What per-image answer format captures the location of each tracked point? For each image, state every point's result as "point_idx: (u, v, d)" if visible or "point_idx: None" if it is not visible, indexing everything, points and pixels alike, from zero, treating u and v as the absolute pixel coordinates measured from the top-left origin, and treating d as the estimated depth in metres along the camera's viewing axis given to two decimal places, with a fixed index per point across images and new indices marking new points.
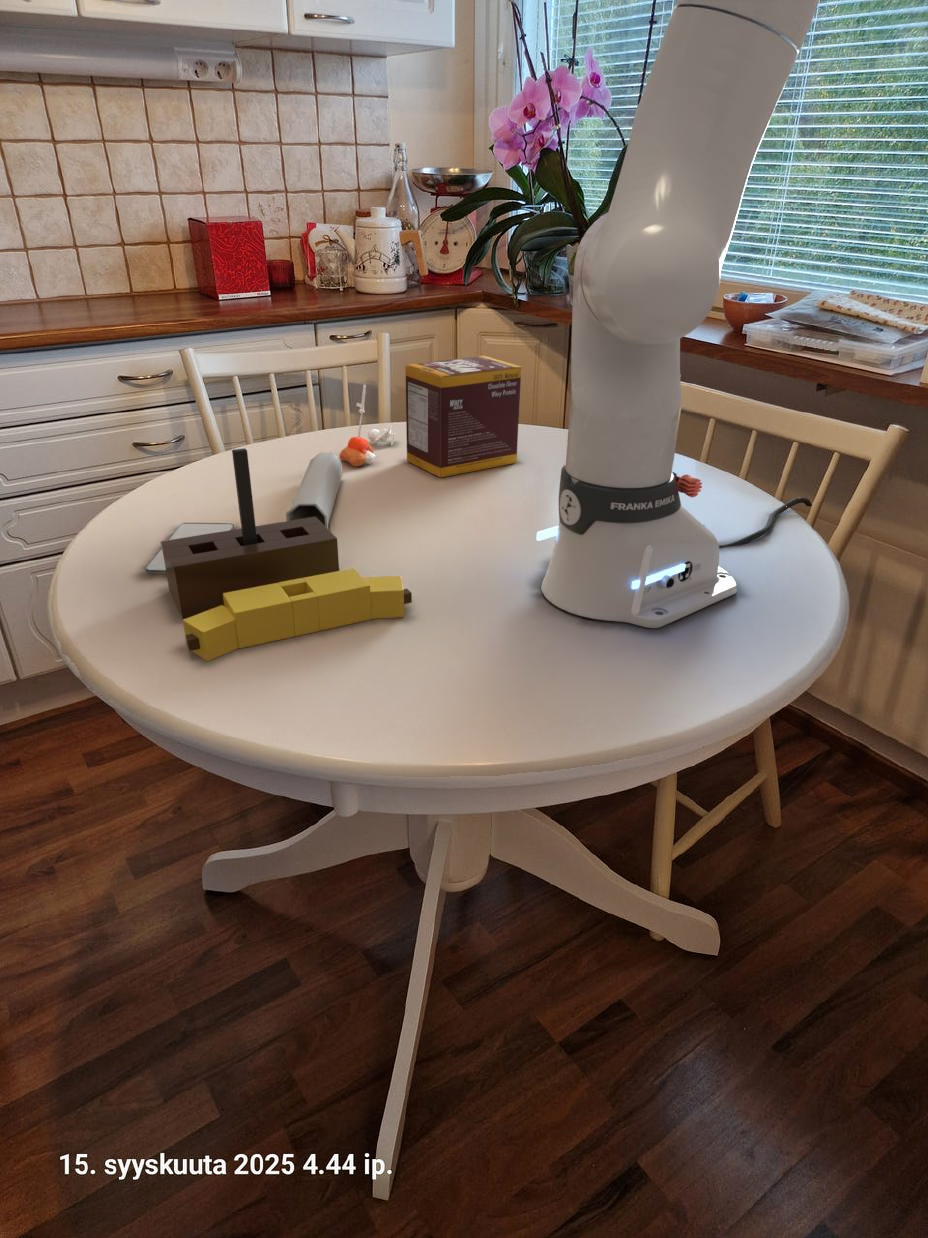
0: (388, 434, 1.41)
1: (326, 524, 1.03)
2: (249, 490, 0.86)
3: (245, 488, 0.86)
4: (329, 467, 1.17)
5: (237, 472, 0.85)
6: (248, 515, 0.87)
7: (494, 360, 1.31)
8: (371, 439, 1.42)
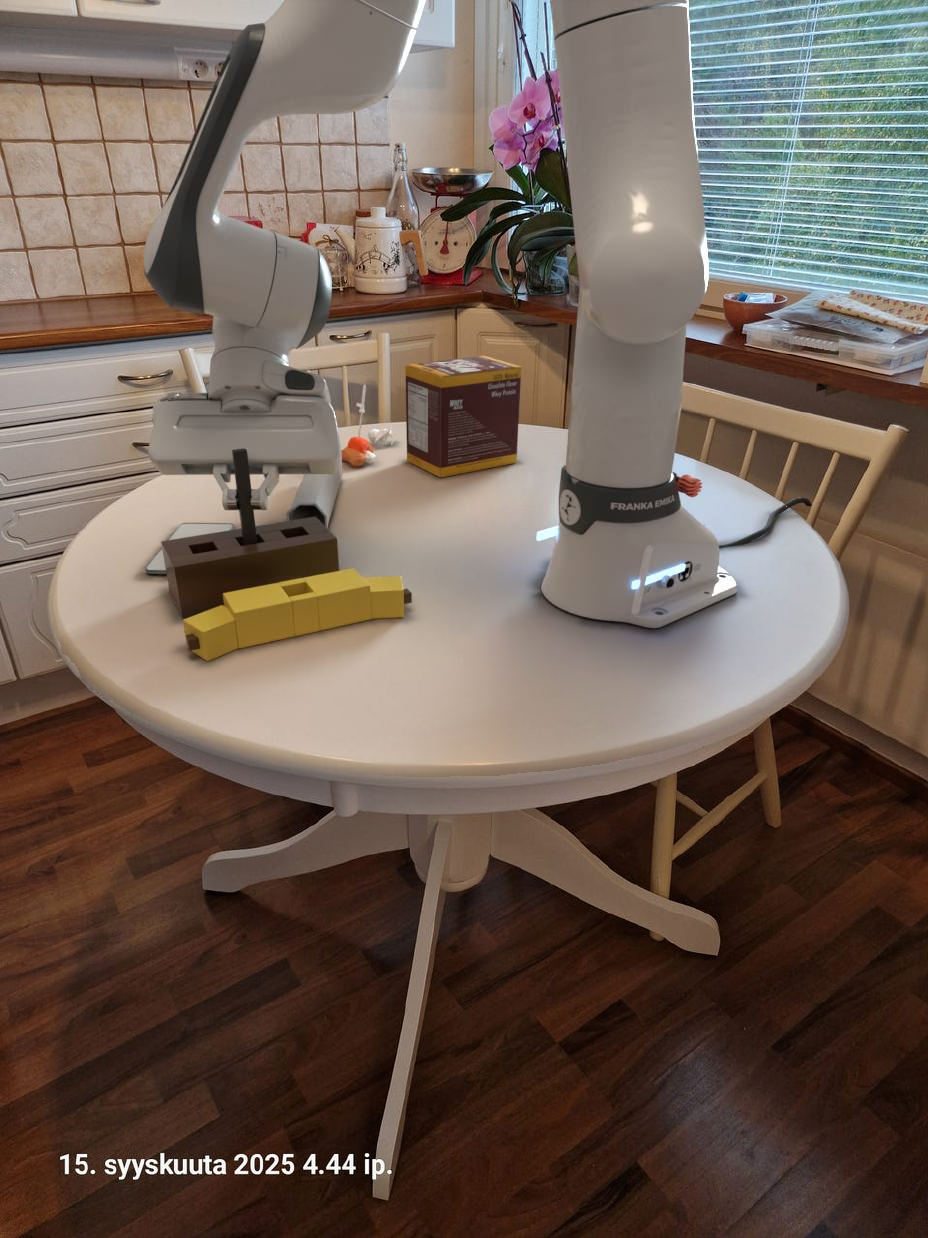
0: (388, 434, 1.41)
1: (326, 524, 1.03)
2: (249, 490, 0.86)
3: (245, 488, 0.86)
4: None
5: (237, 472, 0.85)
6: (248, 515, 0.87)
7: (494, 360, 1.31)
8: (371, 439, 1.42)
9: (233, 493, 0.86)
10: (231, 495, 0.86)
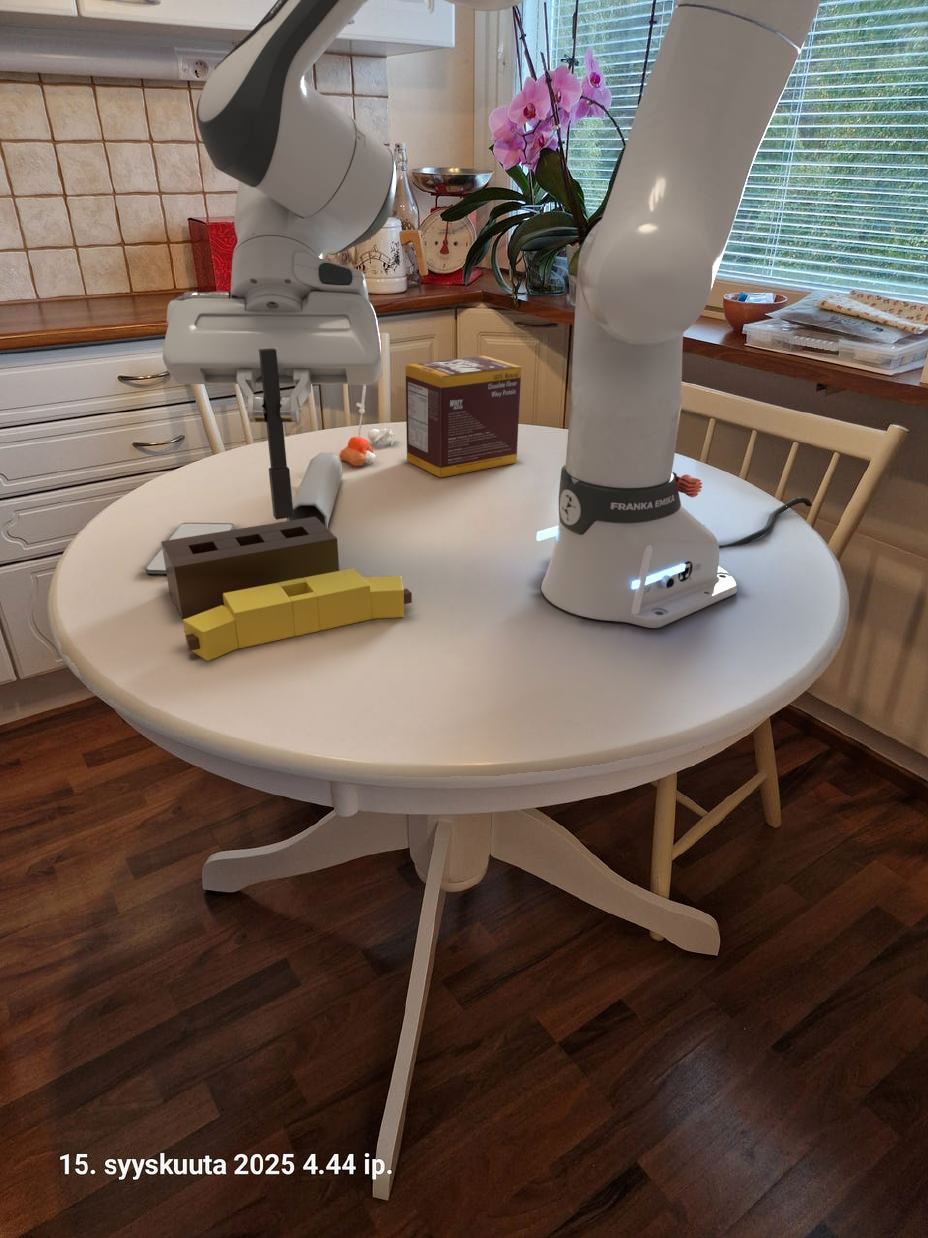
0: (388, 434, 1.41)
1: (326, 524, 1.03)
2: (278, 398, 0.75)
3: (273, 395, 0.75)
4: (329, 467, 1.17)
5: (265, 376, 0.74)
6: (276, 428, 0.76)
7: (494, 360, 1.31)
8: (371, 439, 1.42)
9: (260, 401, 0.75)
10: (258, 404, 0.75)
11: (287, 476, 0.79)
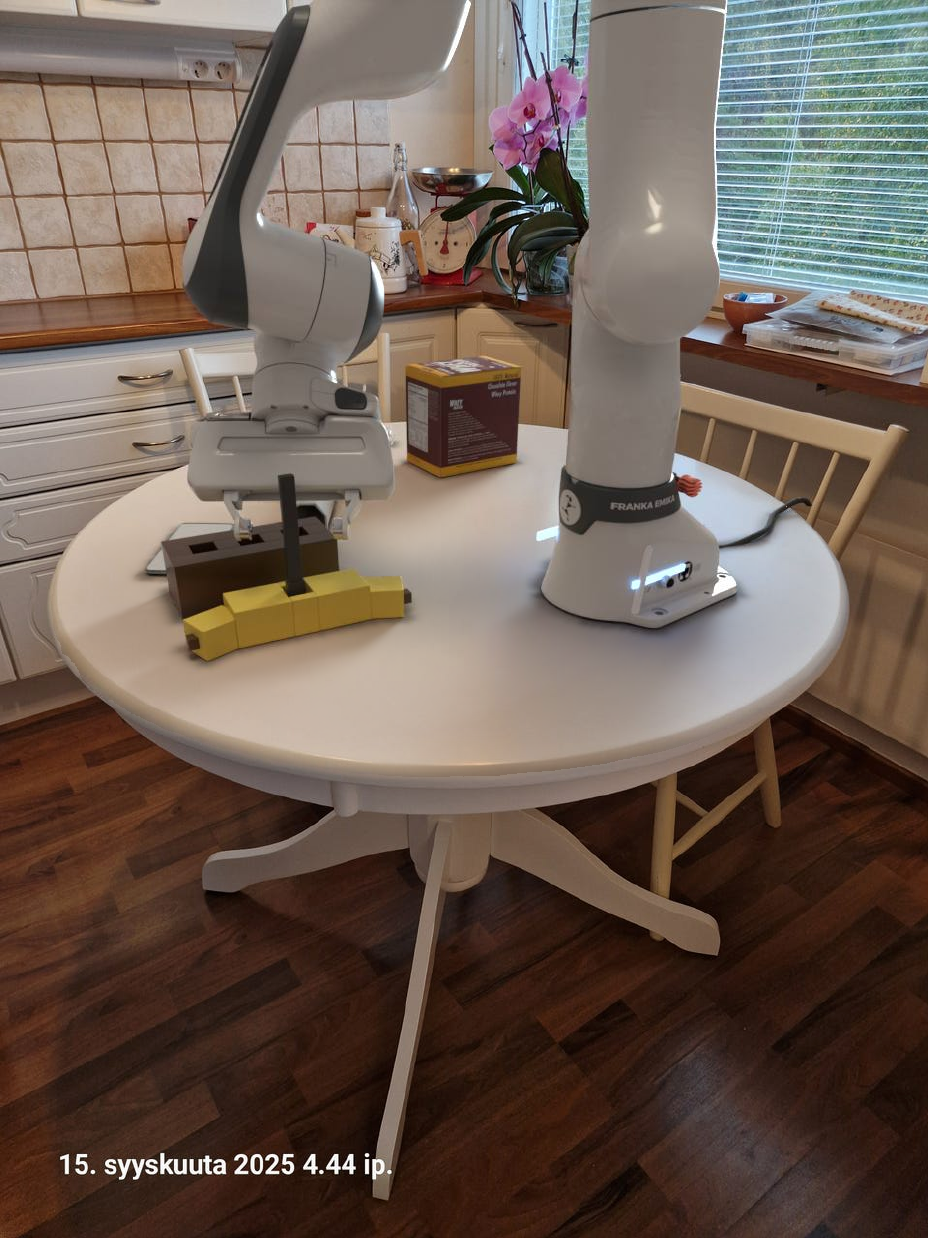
0: (388, 434, 1.41)
1: (326, 524, 1.03)
2: (295, 518, 0.79)
3: (291, 516, 0.79)
4: None
5: (283, 499, 0.78)
6: (293, 545, 0.80)
7: (494, 360, 1.31)
8: None
9: (245, 522, 0.79)
10: (243, 525, 0.79)
11: (303, 587, 0.83)
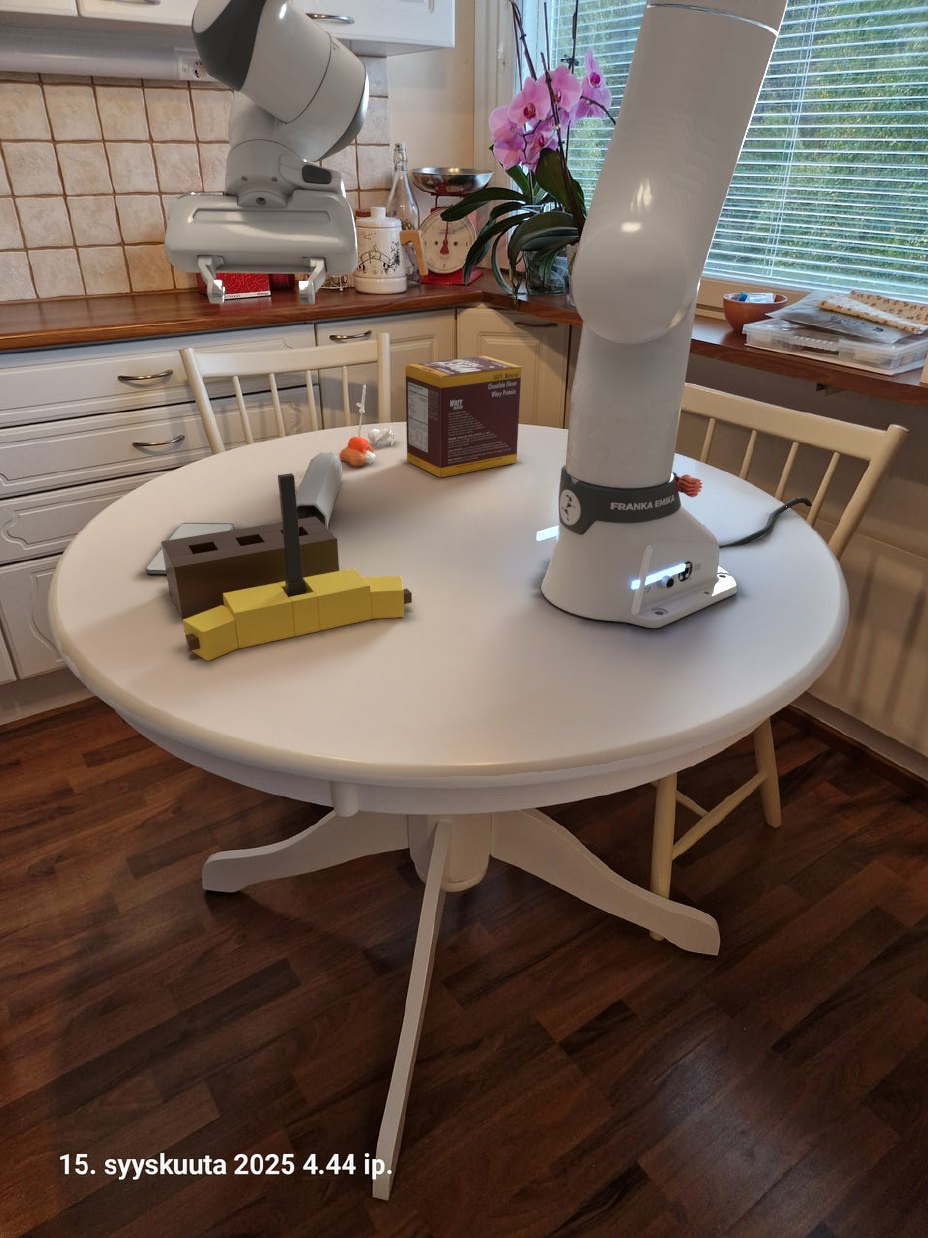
0: (388, 434, 1.41)
1: (326, 524, 1.03)
2: (295, 518, 0.79)
3: (291, 516, 0.79)
4: (329, 467, 1.17)
5: (283, 499, 0.78)
6: (293, 545, 0.80)
7: (494, 360, 1.31)
8: (371, 439, 1.42)
9: (218, 283, 0.85)
10: (216, 285, 0.85)
11: (303, 587, 0.83)
